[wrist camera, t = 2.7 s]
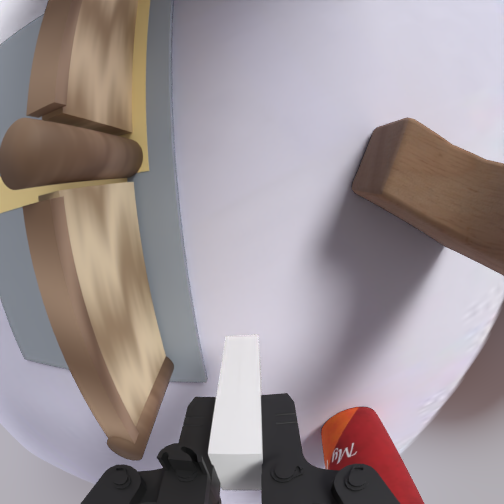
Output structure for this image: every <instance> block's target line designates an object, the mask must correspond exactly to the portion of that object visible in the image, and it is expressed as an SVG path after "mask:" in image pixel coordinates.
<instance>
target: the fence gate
mask: <svg viewBox="0 0 504 504" xmlns="http://www.w3.org/2000/svg"><path fill="white" fill-rule="evenodd" d="M38 200H39V202H36V203H33V204H29V205H26V206H22V207H23V215H24V222H25V228H26V234H27V240H28V245H29V250H30V254H31V259H32V263H33V268H34V272H35V275H36V279H37V283H38V287H39V290H40V293H41V297H42V300H43V303H44V306H45V309H46V312H47V315H48V318H49V321H50V324H51V327H52V329H53V332H54V334H55V337H56V340H57V342H58V345H59V347H60V349H61V352H62V354H63V356H64V359H65V361H66V363H67V365H68V367H69V370H70V372H71V374H72V376H73V378H74V380H75V382H76V384H77V386H78V388H79V390H80V392H81V394H82V395H83V397H84V399H85V401H86V403H87V404H88V406H89V408H90V410H91V411H92V413H93V415H94V417H95V418H96V420H97V421H98V423H99V425H100V426H101V428H102V429H103V431H104V433H105V434H106V436H107V437H108V440H107V445H108V447H109V448H110V449H111V450H112V451H113V452H115V453H116V454H118V455H119V456H121V457H124V458H126V459H130V460H141V459H142V457H143V454H144V451H145V448H146V445H147V442H148V439H149V437H150V434H151V431H152V428H153V425H154V422H155V419H156V417H157V414H158V411H159V408H160V405H161V403H162V400H163V397H164V394H165V392H166V389H167V386H168V384H169V381H170V378H171V376H172V373H173V370H174V364H173V362H172V361H171V360H170V359H169V358H168V357H167V356H166V354H165V351H164V347H163V343H162V340H161V336H160V332H159V328H158V324H157V320H156V315H155V311H154V307H153V302H152V298H151V293H150V288H149V283H148V278H147V273H146V267H145V262H144V256H143V250H142V244H141V238H140V231H139V224H138V216H137V208H136V200H135V191H134V182H124V183H114V184H104V185H96V186H87V187H80V188H72V189H65V190H59V191H55V192H51V193H47V194H44V195H40V196H38Z"/></svg>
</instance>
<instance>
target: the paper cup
mask: <svg viewBox="0 0 504 504" xmlns="http://www.w3.org/2000/svg"><path fill="white" fill-rule="evenodd" d="M321 436H322V445H323V453H324V461H325V469H328V470H341V469H342V468H344V467H346V466H348V465H352V464H366V465H368V466H371V467H372V468H373V469H375V470H376V471H377V473H378V474H379V475H380V477H381V478H382V479H383V481H384V482H385V483H386V485H387V486H388V488H389V489H390V490H391V492H392V493H393V494H394V496H395V497H396V498H397V500H398V501H399V502H400V504H424V502H423V500H422V498H421V496H420V494H419V492H418V490H417V488H416V486H415V484H414V482H413V480H412V478H411V476H410V474H409V472H408V470H407V468H406V467H405V465H404V463H403V461H402V459H401V457H400V455H399V453H398V451H397V449H396V447H395V446H394V444H393V442H392V440H391V438H390V436H389V435H388V433H387V431H386V429H385V427H384V425H383V424H382V422H381V420H380V419H379V417H378V415H377V414H376V412H375V411H374V410H373V409H371V408H368V407H354V408H350V409H347V410H344V411H342V412H339V413H338V414H336V415H334V416H333V417H331V418H330V419H329V420H328V421H327V422H326V423H325V424H324V425H323V427H322V430H321Z"/></svg>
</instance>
